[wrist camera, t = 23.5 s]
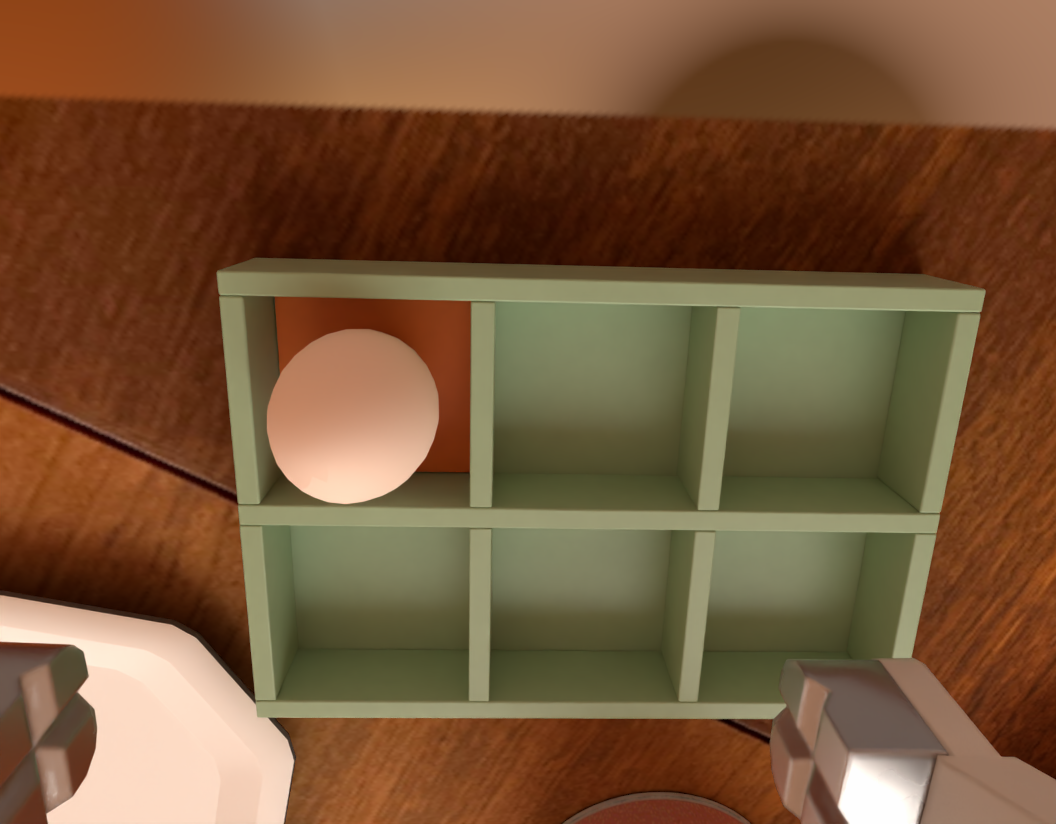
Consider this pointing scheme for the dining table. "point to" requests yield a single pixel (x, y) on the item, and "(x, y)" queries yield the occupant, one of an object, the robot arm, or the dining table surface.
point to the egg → (352, 416)
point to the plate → (160, 721)
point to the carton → (600, 486)
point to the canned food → (658, 811)
